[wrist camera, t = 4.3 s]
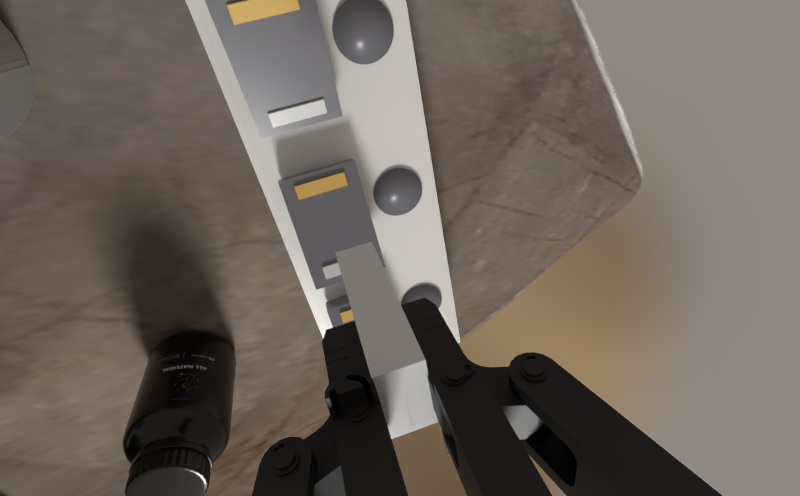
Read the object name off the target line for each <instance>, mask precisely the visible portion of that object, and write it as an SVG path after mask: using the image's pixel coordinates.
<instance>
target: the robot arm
mask: <svg viewBox="0 0 800 496" xmlns="http://www.w3.org/2000/svg"><path fill="white" fill-rule="evenodd" d="M335 254H336V257H337V261H338V264H339V268H340V271H341V275H342V278H343V282H344V285H345V289H346V292H347V296H348V299H349V302H350V306H351V309H352V313H353V316H354V320H355V321H352V322H349V323H346V324H343V325H340V326H337V327H333V328H330V329H327V330H326V332H325V335H324V338H323V341H322V344H323V350H324V355H325V361H326V365H327V366H326V367H327V372H328V378H329V385H328V387H327V389H326V391H325V401H326V404H327V406H328V409H329V411H330V416H329V418H328V420H327V421H326V422H325V423H324V425H323V426H322V427H320V428H319V429H318V430H317V431H316V432H314V433H313V434H311V435H310V436H308V437H307V438H306V439H304V440H303V439H302V438H300V437H288V438H285V439H282V440H279V441H278V442H277V443H275V444H274V445H272V446H271V447H270V448H269V449H268V451H267V452H266V453H265V454H264V456H263V458H262V460H261V463H260V465H259V469H258V473H257V477H256V481H255V486H254V490H253V494H252V496H408V493H407V490H406V487H405V484H404V480H403V477H402V473H401V470H400V466H399V463H398V460H397V457H396V453H395V450H394V447H393V443H392V440H391V439H393V438H396V437H398V436H401V435H404V434H407V433H409V432H412V431H415V430H418V429H420V428H423V427H425V426H428V425H431V424H434V423H437V422H438V421H437V418H438V420H439V422H440V425H441V427H442V432H443V437H444V443H445V448H446V453H447V454H449V453H450V455H451V458H452V460H453V462H454V465H455V468H456V470H457V472H458V475H459V477H460V479H461V482H462V485H463V487H464V489H465V492H466V494H467V496H552V495H551V493H550V491H549V490H548V488H547V486H546V484H545V483H544V481H543V479H542V478H541V476H540V474H539V472H538V471H537V469H536V467H535V466H534V464H533V462H532V460H531V459H530V457H529V455H530V456H531V457H532V458H533V460H534V461H535V462H536V463H537V464H538V465H539V466H540V467H541V468H542V469H543V470H544V471H545V473H546V474H547V475H548V476H549V477H550V478H551V479H552V480H553V481H554V482H555V483H556V484H557V486H558V487H559V488H560V489H561V490H562V491H563V492H564V493H565V494H566V495H567V496H722V495H721V494H719V493H718V492H717V491H716V490H714V489H713V488H712V487H711V486H709V485H708V484H707V483H706V482H704V481H703V480H702V479H701V478H699V477H698V476H697V475H696V474H694V473H693V472H692V471H691V470H689V469H688V468H687V467H686V466H684V465H683V464H682V463H681V462H679V461H678V460H677V459H676V458H674V457H673V456H672V455H671V454H669V453H668V452H667V451H666V450H664V449H663V448H662V447H661V446H659V445H658V444H657V443H656V442H654V441H653V440H652V439H651V438H649V437H648V436H647V435H646V434H644V433H643V432H642V431H641V430H639V429H638V428H637V427H636V426H634V425H633V424H632V423H631V422H629V421H628V420H627V419H626V418H624V417H623V416H622V415H621V414H620V413H618V412H617V411H616V410H615V409H613V408H612V407H611V406H610V405H608V404H607V403H606V402H605V401H603V400H602V399H601V398H600V397H598V396H597V395H596V394H595V393H593V392H592V391H591V390H590V389H588V388H587V387H586V386H584V385H583V384H582V383H581V382H580V381H578V380H577V379H576V378H574V377H573V376H572V375H571V374H570V373H568V372H567V371H566V370H565V369H563V368H562V367H561V366H560V365H558V364H557V363H556V362H555V361H553V360H552V359H550V358H549V357H546V356H545V355H543V354H539V353H524V354H521V355H519V356H516V357H515V358H514V359H513V360H512V361H511V363H510V366H509V367H495V368H492V367H483V366H479V365H477V364H474V363H473V362H471V361H470V360H468V359H467V357H466V356H465V355H464V353H463V352H462V350H461V348H460V346H459V344H458V343H457V341H456V339H455V337H454V336H453V334H452V332H451V330H450V329H449V327H448V325H447V324H446V322H445V320H444V318H443V317H442V315H441V313H440V311H439V309H438V308H437V306H436V304H434V303H433V302H431V301H430V300H428V299H427V298H421V299H418V300H415V301H412V302H409V303H406V304H403V305H401V304H400V302H399V300H398V298H397V295H396V293H395V291H394V289H393V287H392V284H391V282H390V280H389V278H388V276H387V273H386V271H385V269H384V267H383V265H382V262H381V260H380V258H379V256H378V254H377V251H376V249H375V247H374V245H373V243H372V242H369V243H366V244H362V245H359V246H355V247H352V248H349V249H345V250H342V251H338V252H335ZM528 454H529V455H528Z"/></svg>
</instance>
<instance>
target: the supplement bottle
mask: <svg viewBox="0 0 800 496" xmlns="http://www.w3.org/2000/svg"><path fill="white" fill-rule="evenodd" d="M235 368H236V358H235V354H234V351H233V349H232V348H231V346H230V345H229V344H228V343H227V342H226V341H225V340H223V339H222V338H220V337H218V336H216V335H214V334H211V333H207V332H201V331H188V332H182V333H178V334H175V335H172V336H170V337H168V338H166V339H165V340H163V341H162V342H161V343H159V344H158V345H157V346H156V348H155V349H154V350H153V352H152V354H151V356H150V359H149V361H148V364H147V367H146V370H145V373H144V376H143V379H142V382H141V385H140V388H139V391H138V394H137V397H136V400H135V403H134V406H133V409H132V412H131V415H130V418H129V421H128V424H127V427H126V430H125V434H124V438H123V450H124V453H125V456H126V458H127V459H128V461H129V462H130V464H131V467H130V470H129V478H128V481H127V485H126V489H125V494H126V496H204V494H205V493H206V492H207V489H208V486H209V480H210V474H211V471H212V465H213V463H214V462H215V461H216V460H217V459H218V458H219V457H220V455H221V454H222V453H223V451H224V450H225V448H226V446H227V444H228V440H229V435H230V426H231V414H232V403H233V392H234V380H235Z"/></svg>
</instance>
